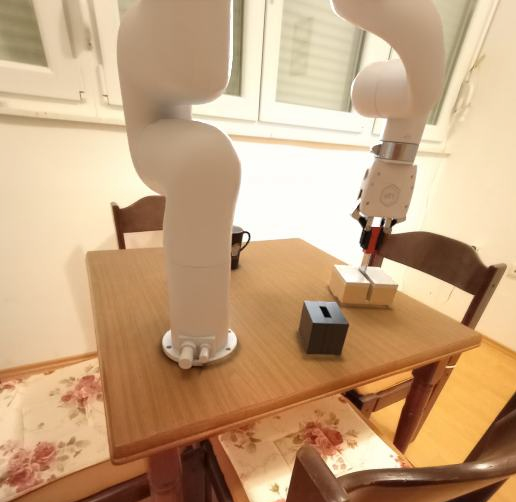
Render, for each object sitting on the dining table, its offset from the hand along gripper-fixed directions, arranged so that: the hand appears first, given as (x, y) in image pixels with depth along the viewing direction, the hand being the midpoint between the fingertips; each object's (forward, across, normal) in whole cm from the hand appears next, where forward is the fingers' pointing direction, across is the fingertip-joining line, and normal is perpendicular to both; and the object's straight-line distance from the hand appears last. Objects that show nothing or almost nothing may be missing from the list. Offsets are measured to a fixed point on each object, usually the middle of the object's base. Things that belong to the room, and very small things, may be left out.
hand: (369, 247), depth 71 cm
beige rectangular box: (+12, 0, -1) cm, 12 cm away
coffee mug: (+12, -31, +16) cm, 37 cm away
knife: (+10, 0, 0) cm, 10 cm away
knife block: (+12, -15, -23) cm, 30 cm away
